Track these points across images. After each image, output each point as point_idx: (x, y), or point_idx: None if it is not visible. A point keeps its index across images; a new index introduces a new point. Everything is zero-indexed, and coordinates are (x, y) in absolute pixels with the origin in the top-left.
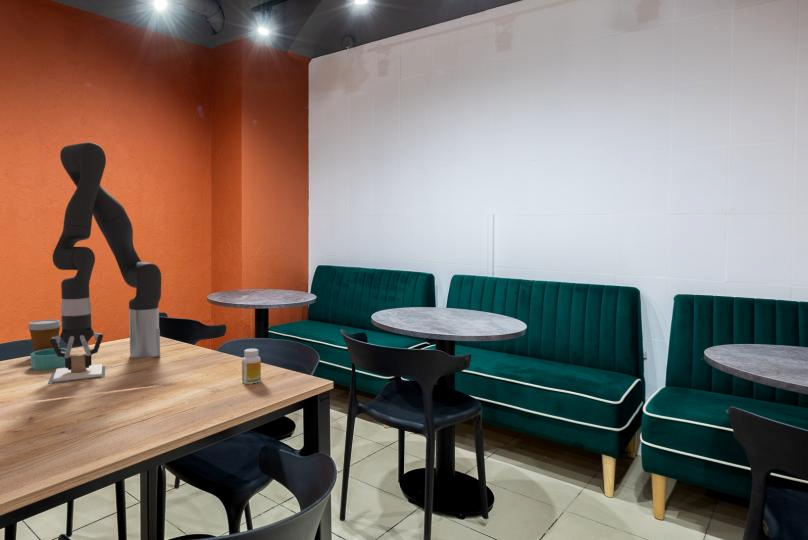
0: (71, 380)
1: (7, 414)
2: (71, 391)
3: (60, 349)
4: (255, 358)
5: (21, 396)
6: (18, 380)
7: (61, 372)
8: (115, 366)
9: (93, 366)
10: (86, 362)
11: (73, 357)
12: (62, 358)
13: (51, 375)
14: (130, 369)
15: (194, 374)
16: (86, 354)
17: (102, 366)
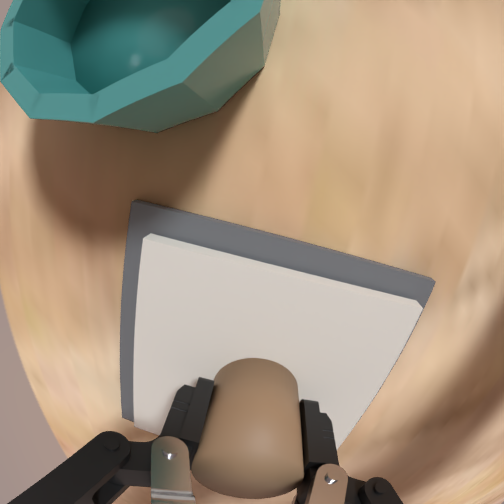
0: None
1: None
2: (198, 487)
3: (104, 480)
4: None
5: (76, 438)
6: (17, 244)
7: (165, 355)
8: (469, 287)
9: (360, 342)
10: None
11: (210, 485)
12: (186, 100)
13: (124, 298)
14: (465, 380)
15: (479, 474)
16: (294, 500)
17: (421, 283)
